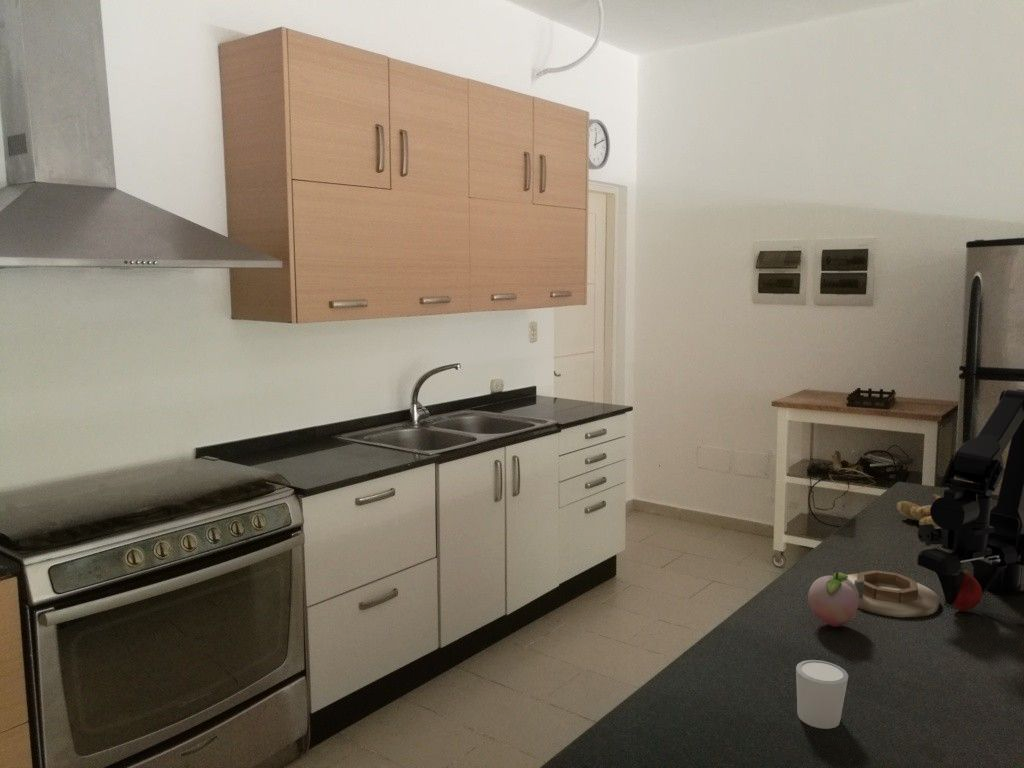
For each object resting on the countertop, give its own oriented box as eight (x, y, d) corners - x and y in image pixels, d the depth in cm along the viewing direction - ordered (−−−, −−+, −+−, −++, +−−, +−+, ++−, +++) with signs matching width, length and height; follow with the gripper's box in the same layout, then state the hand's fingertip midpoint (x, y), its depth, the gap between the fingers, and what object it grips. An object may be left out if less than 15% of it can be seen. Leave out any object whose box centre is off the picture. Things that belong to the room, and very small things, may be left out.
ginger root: (995, 532, 192) (989, 499, 191) (926, 547, 193) (920, 514, 192) (960, 514, 208) (955, 483, 207) (897, 528, 208) (891, 497, 207)
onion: (984, 619, 149) (989, 577, 147) (949, 616, 150) (954, 574, 149) (973, 606, 154) (978, 565, 153) (940, 603, 155) (944, 562, 154)
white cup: (784, 705, 120) (788, 659, 119) (831, 703, 120) (834, 658, 119) (805, 732, 113) (808, 684, 112) (854, 730, 114) (858, 682, 112)
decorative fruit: (809, 611, 151) (813, 559, 150) (858, 620, 148) (862, 567, 146) (803, 632, 143) (806, 576, 141) (854, 642, 139) (858, 585, 138)
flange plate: (884, 573, 170) (885, 554, 169) (961, 608, 153) (963, 586, 153) (814, 586, 163) (816, 566, 162) (887, 624, 146) (889, 601, 146)
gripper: (968, 500, 160) (961, 578, 163) (896, 511, 153) (889, 592, 156) (1023, 517, 150) (1014, 599, 152) (948, 530, 143) (940, 615, 145)
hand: (963, 601), depth 152 cm, fingers open, 7 cm apart
